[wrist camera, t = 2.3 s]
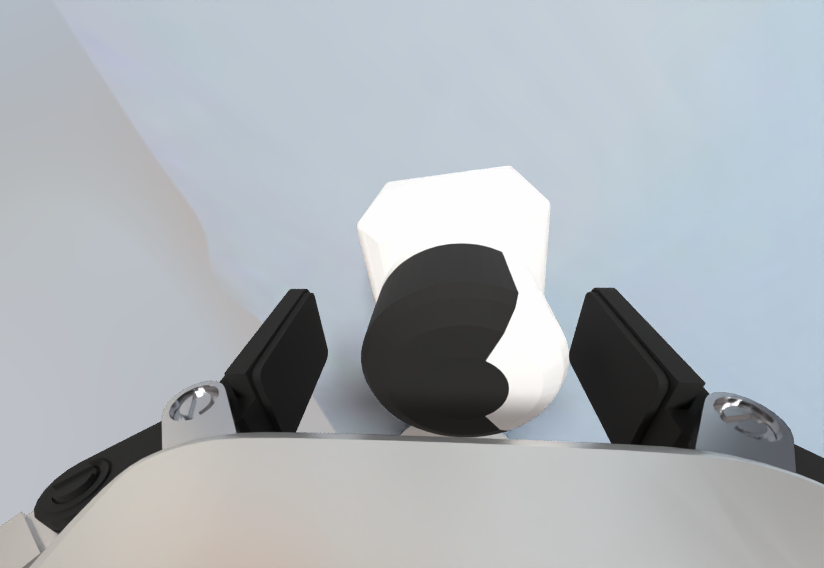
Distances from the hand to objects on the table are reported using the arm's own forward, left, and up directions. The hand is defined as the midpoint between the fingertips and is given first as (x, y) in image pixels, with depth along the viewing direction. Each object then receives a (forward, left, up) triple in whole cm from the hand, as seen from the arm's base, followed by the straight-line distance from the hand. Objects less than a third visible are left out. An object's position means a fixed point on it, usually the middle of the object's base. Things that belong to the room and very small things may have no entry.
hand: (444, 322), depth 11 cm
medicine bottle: (0, 0, -9) cm, 9 cm away
